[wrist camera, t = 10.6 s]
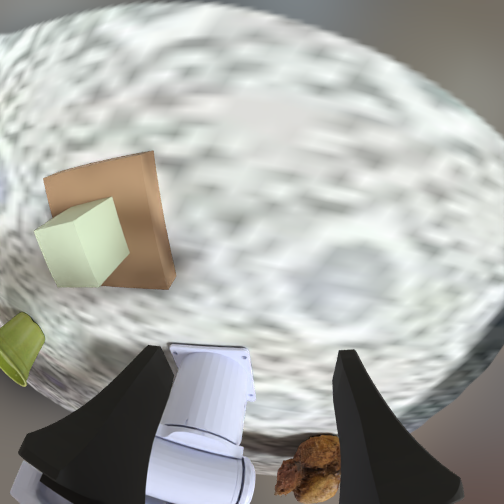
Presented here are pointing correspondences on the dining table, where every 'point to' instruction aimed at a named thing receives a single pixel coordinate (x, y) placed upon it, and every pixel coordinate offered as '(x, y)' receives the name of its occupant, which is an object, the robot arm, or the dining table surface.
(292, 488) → the seed pod
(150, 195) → the tan block
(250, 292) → the dining table surface
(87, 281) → the sage cube
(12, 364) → the plant pot
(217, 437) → the robot arm
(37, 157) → the dining table surface
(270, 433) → the dining table surface
